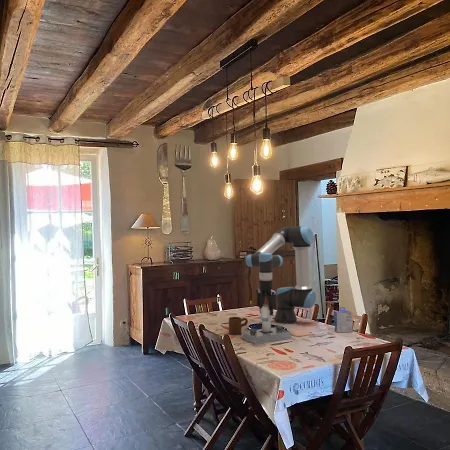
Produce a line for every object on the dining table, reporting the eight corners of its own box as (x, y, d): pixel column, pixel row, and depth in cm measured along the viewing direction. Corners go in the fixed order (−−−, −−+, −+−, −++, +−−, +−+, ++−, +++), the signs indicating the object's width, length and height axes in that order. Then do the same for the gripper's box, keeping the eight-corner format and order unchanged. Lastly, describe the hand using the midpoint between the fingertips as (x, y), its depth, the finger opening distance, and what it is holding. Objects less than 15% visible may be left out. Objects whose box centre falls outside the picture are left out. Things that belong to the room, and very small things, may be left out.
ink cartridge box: (349, 330, 279) (348, 306, 279) (352, 332, 273) (352, 308, 273) (333, 330, 277) (333, 307, 277) (337, 332, 272) (336, 308, 272)
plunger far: (274, 334, 263) (274, 325, 263) (280, 333, 265) (280, 325, 265) (278, 336, 260) (278, 327, 260) (284, 335, 262) (284, 326, 262)
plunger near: (248, 338, 255) (248, 329, 255) (254, 337, 257) (254, 328, 257) (251, 339, 251) (251, 330, 251) (257, 339, 253) (257, 329, 253)
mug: (246, 331, 278) (246, 316, 278) (249, 334, 270) (249, 318, 270) (227, 332, 275) (227, 317, 275) (230, 335, 267) (230, 319, 267)
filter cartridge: (260, 331, 258) (260, 305, 258) (266, 329, 262) (265, 303, 262) (267, 332, 255) (266, 306, 255) (272, 330, 258) (272, 304, 258)
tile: (285, 333, 272) (285, 332, 272) (301, 330, 278) (301, 329, 278) (298, 337, 261) (297, 336, 261) (314, 334, 267) (314, 333, 267)
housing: (242, 338, 259) (242, 331, 259) (276, 333, 270) (276, 327, 270) (255, 344, 246) (255, 336, 246) (290, 338, 258) (290, 331, 258)
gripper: (249, 279, 262) (250, 319, 262) (274, 281, 249) (274, 323, 249) (258, 277, 267) (258, 317, 267) (282, 280, 255) (283, 321, 255)
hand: (266, 320), depth 258 cm, fingers closed on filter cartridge, 5 cm apart
